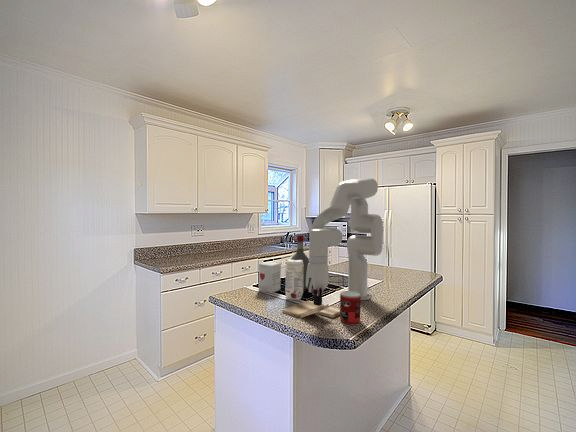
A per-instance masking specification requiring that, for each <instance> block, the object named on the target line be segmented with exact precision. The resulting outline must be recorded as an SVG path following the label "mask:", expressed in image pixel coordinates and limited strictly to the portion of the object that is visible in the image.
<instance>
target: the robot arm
mask: <svg viewBox="0 0 576 432" xmlns="http://www.w3.org/2000/svg"><path fill="white" fill-rule="evenodd" d="M378 190H379V184H378V182H377V180H375V178H354V179H349V180H345V181H341V182H340V183H338V184H337V187H336V188H335V191H334V194H333V196H332V199H331V202H330V204H329V206H327V208H325V209H324V210H322V211H321V212H320V213H319V214H318V215H317V216H316V217H315V218H314V219H313V222H312V225H311V226H310V230H309V232H308V239H309V241H308V242H309V243H308V244H309V246H308V247H309V250H308V258H309V263H308V266H307V273H306V287H307V288H308V293H312V295H313V298H312V299H313V301H312V302H313V304H314V305H318V306H320V305H322V304H323V295H324V291H325V289H327V288H328V285H329V281H330V280H329V279H330V277H329V276H330V273H329V262H328V261H329V260H328V259H329V255H328V254H329V247H336V246H339V245H340V244H341V243H342V241H343V232H341V230H339V229H338V228H333V227H325V226H327V224H329V223H331V222H333V221H336V220H338V219H341V218H344V217H345V216H346V215H348V212H349V210H350V229H351V231H352V232H354V233H360V234H370V235H359V234H356V235H355V234H354V235H351V236H348V238H347V241H346V248H347V249H346V250H347V254H348V255H347V256H348V266H347V267H348V271H347V272H348V274H347V278H348V280H347V283H348V284H347V285H348V286H347V288H348V289H347V291H353V292H358V293H360V294H361V301H367V300H368V301H369V300H370V299H371V294H369V293H368V291H370V290H371V288H370V286H368V272H369V271H368V266H369V264H368V260H367V259H366V256H373V257H377V256H380V255H381V254H382V251H383V244H384V243H383V240H384V239H383V237H384V222H383V218H382V217H381V216H380V215H379V214H374V213H373V214H369V204H368V201H367V200H366V199H368V198H371V197H374V196H375V195H377V193H378Z"/></svg>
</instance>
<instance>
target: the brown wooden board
mask: <svg viewBox="0 0 576 432" xmlns="http://www.w3.org/2000/svg"><path fill="white" fill-rule="evenodd" d="M322 306H325V305H324V303H322V305H320V306H318V305H314V304H313V301H312V300H306V301H303V302H300V303H298V304H295V305H292V306H290V307H287V308H284V309H282V313H284V314H286V315H289V316H292V317H296V318H298V319H300V318H301V317H300V315H301V314H304V313H306V312H309V311H311V310H314V309H317V308H320V307H322Z"/></svg>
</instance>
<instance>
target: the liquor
mask: <svg viewBox="0 0 576 432" xmlns="http://www.w3.org/2000/svg"><path fill="white" fill-rule="evenodd" d="M296 241H297V246H296V248H297V249H296V252H295V253H294V254H293V256H292V257H291V258H290V259H291V260H303V265H304V275H303V291H306V290H305V289H307V290H309V288H307V287H306V273H307V266H308V263H309V256H307V254H305V251H304V234H303V235H301V234H297V236H296Z"/></svg>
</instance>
